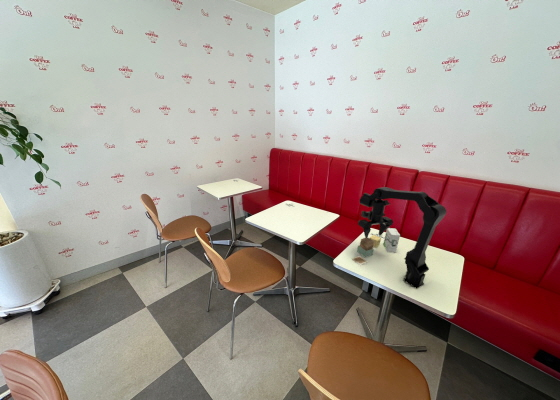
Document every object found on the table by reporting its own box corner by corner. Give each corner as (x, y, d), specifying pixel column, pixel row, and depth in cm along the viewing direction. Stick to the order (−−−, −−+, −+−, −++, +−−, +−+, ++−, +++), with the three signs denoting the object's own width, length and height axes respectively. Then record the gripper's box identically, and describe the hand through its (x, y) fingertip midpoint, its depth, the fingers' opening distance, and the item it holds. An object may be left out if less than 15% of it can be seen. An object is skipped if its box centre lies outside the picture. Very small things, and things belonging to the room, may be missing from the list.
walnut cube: (372, 248, 122) (374, 241, 121) (366, 251, 120) (368, 243, 118) (365, 244, 126) (367, 236, 125) (359, 246, 124) (361, 239, 122)
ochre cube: (379, 244, 133) (381, 238, 132) (376, 248, 130) (377, 240, 128) (371, 241, 137) (373, 234, 135) (368, 244, 133) (369, 237, 132)
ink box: (382, 244, 134) (386, 227, 130) (390, 244, 134) (395, 228, 130) (387, 252, 126) (391, 234, 122) (396, 252, 126) (400, 235, 122)
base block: (372, 255, 123) (373, 249, 122) (364, 257, 121) (365, 251, 120) (364, 249, 128) (366, 243, 127) (357, 251, 126) (358, 245, 125)
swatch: (367, 262, 117) (367, 261, 117) (360, 265, 114) (360, 264, 114) (358, 256, 122) (359, 255, 121) (351, 259, 119) (351, 258, 119)
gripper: (381, 203, 123) (376, 227, 129) (353, 206, 118) (349, 231, 123) (396, 210, 113) (390, 236, 119) (367, 214, 108) (362, 241, 113)
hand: (372, 236), depth 119 cm, fingers open, 9 cm apart
